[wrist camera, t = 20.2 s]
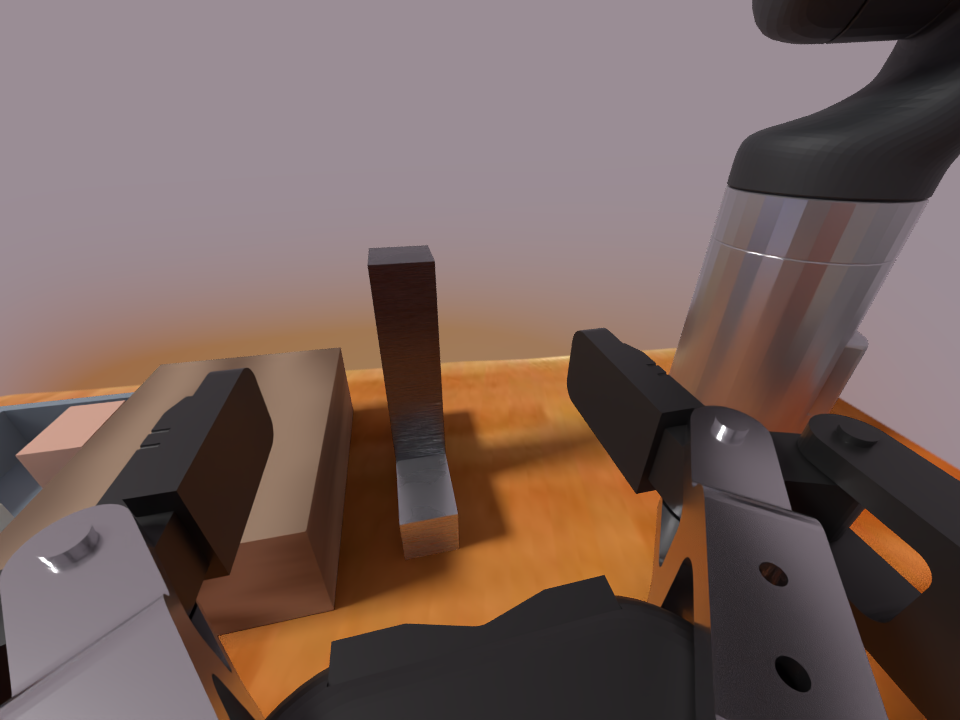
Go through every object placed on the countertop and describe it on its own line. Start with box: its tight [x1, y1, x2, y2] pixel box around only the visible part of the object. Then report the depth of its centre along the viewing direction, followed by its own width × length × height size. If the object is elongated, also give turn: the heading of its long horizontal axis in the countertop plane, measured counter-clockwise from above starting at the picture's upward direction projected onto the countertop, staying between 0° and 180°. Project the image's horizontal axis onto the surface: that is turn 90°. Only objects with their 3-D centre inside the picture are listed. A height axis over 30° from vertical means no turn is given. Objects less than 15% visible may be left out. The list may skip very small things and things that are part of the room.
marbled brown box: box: [0, 348, 353, 635], centre depth 23 cm, size 12×16×6 cm
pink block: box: [15, 400, 126, 488], centre depth 24 cm, size 4×4×3 cm
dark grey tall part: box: [368, 246, 459, 560], centre depth 22 cm, size 3×12×15 cm, turn 13°
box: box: [0, 392, 134, 517], centre depth 21 cm, size 10×16×4 cm, turn 13°
